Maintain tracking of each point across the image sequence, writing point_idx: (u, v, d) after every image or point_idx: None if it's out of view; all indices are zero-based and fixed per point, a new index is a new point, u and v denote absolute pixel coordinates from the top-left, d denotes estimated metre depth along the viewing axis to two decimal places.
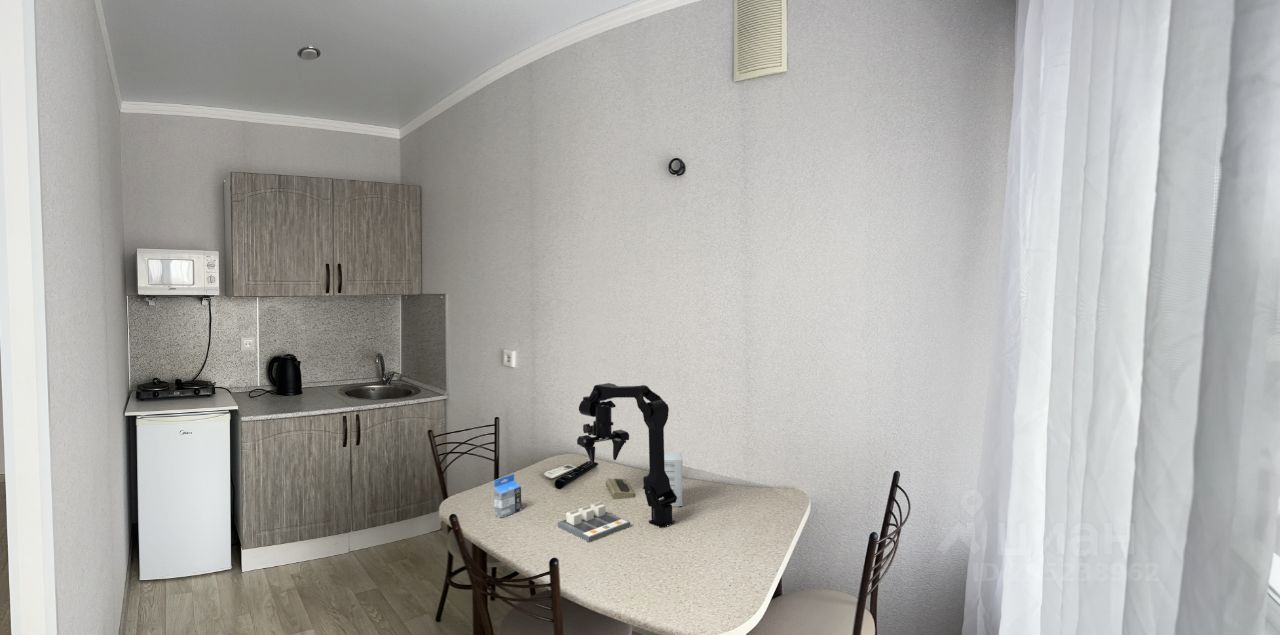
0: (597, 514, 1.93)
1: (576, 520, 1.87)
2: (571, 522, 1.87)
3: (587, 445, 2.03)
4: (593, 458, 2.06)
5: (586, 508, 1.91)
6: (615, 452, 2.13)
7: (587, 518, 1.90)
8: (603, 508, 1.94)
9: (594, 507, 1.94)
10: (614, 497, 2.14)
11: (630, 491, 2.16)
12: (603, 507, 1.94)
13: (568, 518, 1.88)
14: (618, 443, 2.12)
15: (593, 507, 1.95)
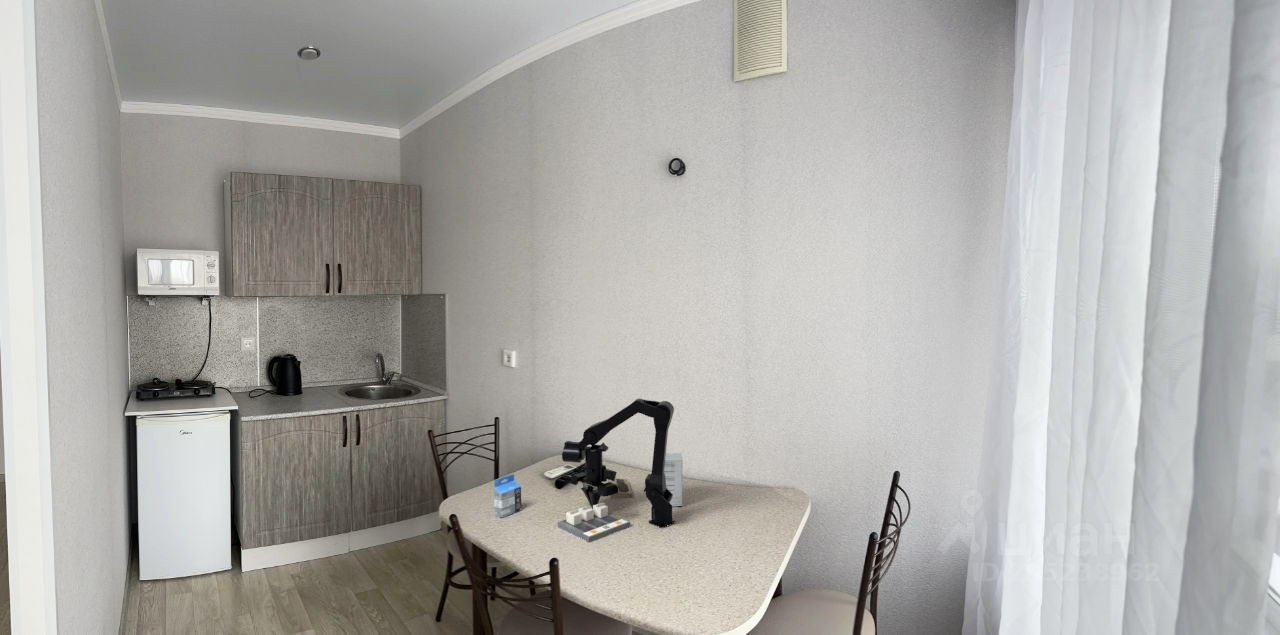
0: (599, 515, 1.92)
1: (576, 520, 1.87)
2: (571, 522, 1.87)
3: (571, 481, 2.00)
4: (589, 502, 1.96)
5: (586, 508, 1.91)
6: None
7: (587, 518, 1.90)
8: (605, 509, 1.93)
9: (596, 508, 1.93)
10: (612, 497, 2.14)
11: (629, 491, 2.16)
12: (605, 508, 1.93)
13: (568, 518, 1.88)
14: None
15: (595, 508, 1.94)
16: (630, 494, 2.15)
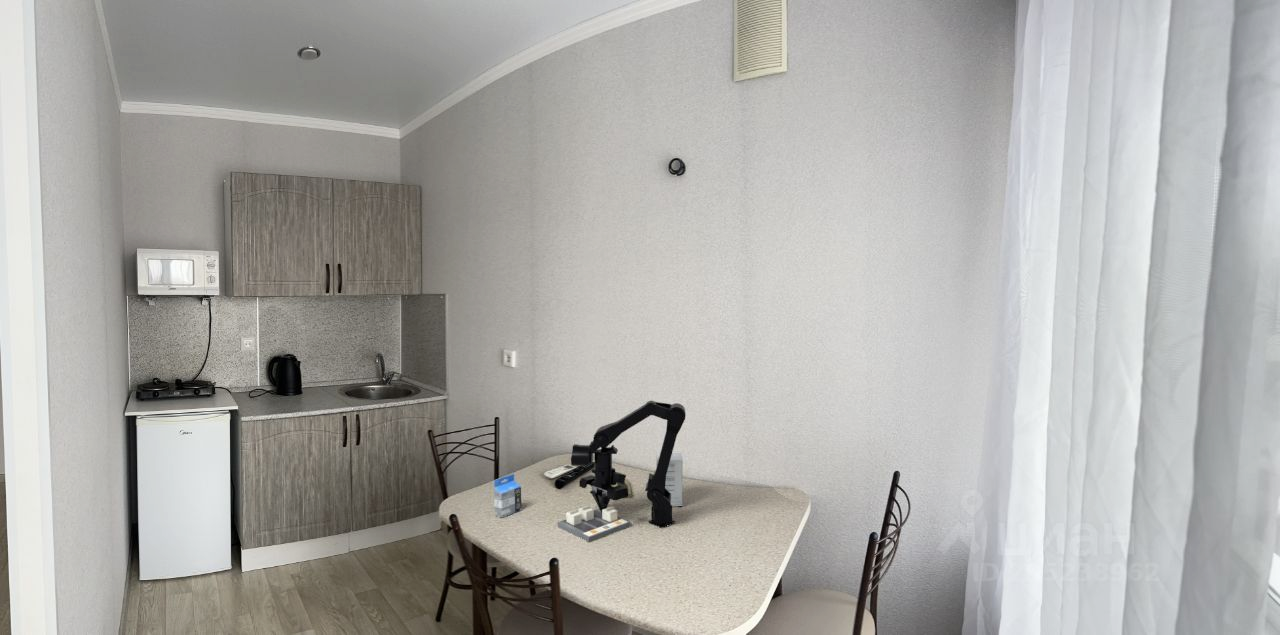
0: (609, 519, 1.89)
1: (576, 520, 1.87)
2: (571, 522, 1.87)
3: (580, 485, 1.97)
4: (598, 506, 1.93)
5: (586, 508, 1.91)
6: None
7: (587, 518, 1.90)
8: (615, 513, 1.90)
9: (606, 512, 1.90)
10: None
11: (628, 492, 2.16)
12: (615, 512, 1.90)
13: (568, 518, 1.88)
14: None
15: (605, 512, 1.90)
16: (629, 494, 2.15)
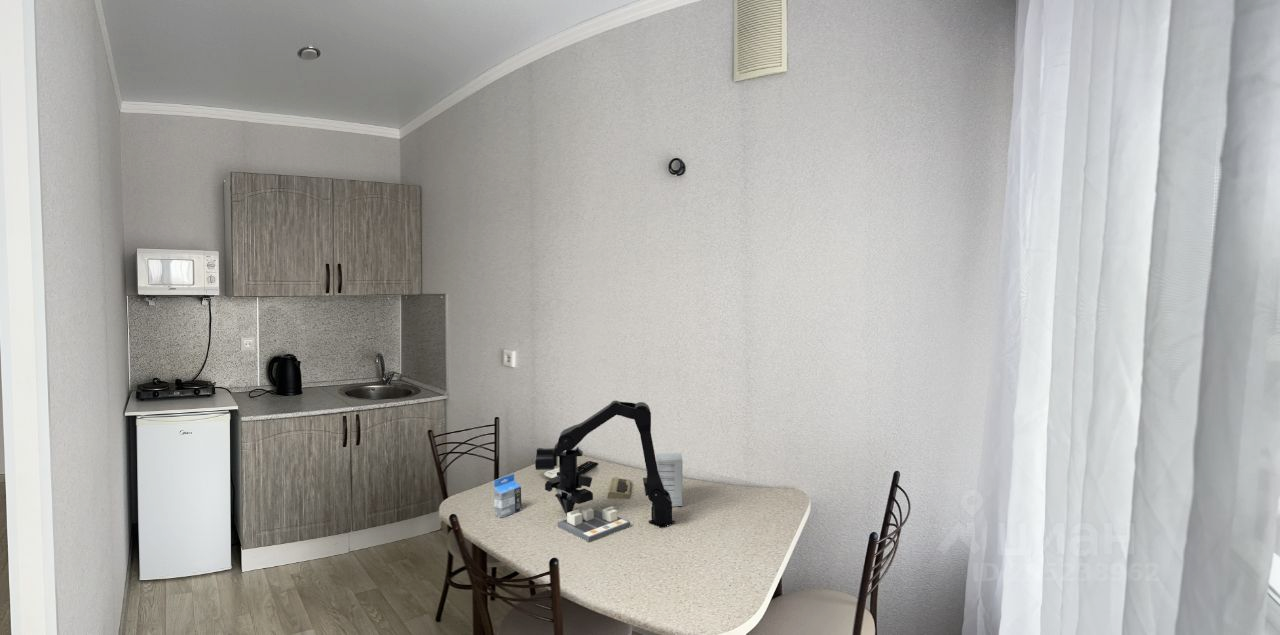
0: (609, 519, 1.89)
1: (577, 521, 1.86)
2: (572, 522, 1.87)
3: (545, 488, 1.94)
4: (563, 509, 1.90)
5: (586, 508, 1.91)
6: None
7: (587, 518, 1.90)
8: (615, 513, 1.90)
9: (606, 512, 1.90)
10: (609, 497, 2.14)
11: (626, 492, 2.15)
12: (615, 512, 1.90)
13: (568, 518, 1.88)
14: None
15: (605, 512, 1.90)
16: (627, 495, 2.14)
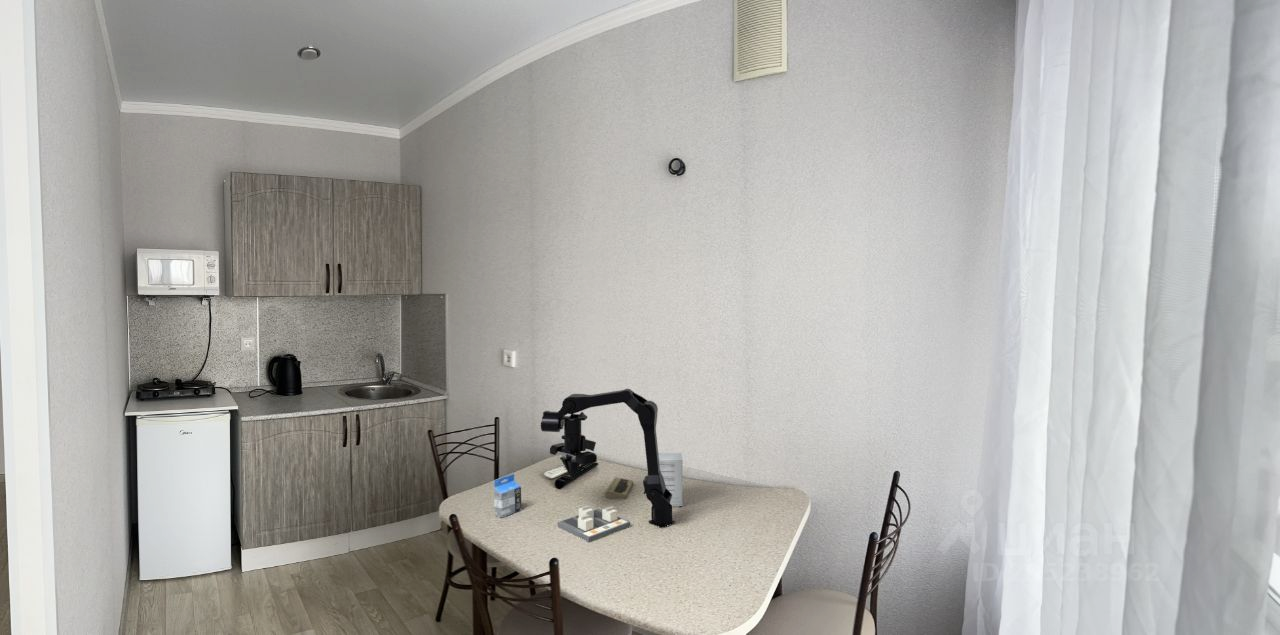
0: (609, 519, 1.89)
1: (588, 526, 1.82)
2: (583, 528, 1.83)
3: (550, 451, 2.00)
4: (568, 472, 1.96)
5: (586, 508, 1.91)
6: None
7: None
8: (615, 513, 1.90)
9: (606, 512, 1.90)
10: (606, 496, 2.15)
11: (623, 492, 2.15)
12: (615, 512, 1.90)
13: (579, 523, 1.84)
14: None
15: (605, 512, 1.90)
16: (624, 495, 2.14)
